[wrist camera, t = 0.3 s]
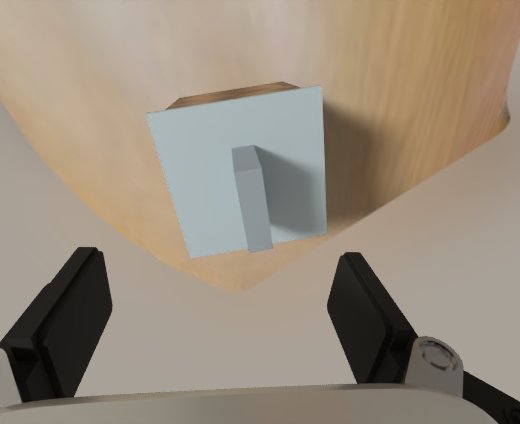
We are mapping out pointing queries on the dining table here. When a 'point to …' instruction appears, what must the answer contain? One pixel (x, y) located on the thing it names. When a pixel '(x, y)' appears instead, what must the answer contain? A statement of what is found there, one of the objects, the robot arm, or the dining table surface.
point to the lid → (245, 170)
